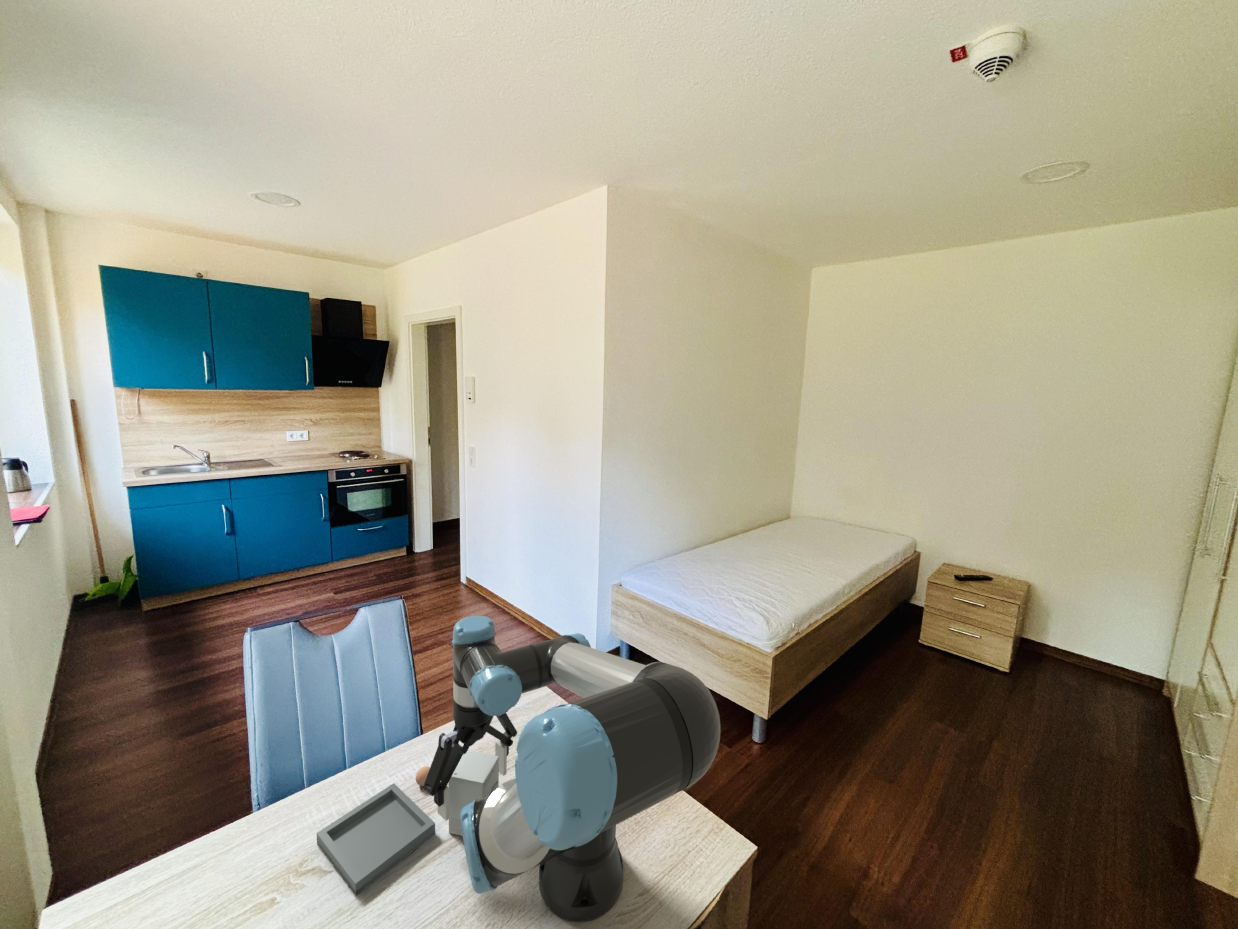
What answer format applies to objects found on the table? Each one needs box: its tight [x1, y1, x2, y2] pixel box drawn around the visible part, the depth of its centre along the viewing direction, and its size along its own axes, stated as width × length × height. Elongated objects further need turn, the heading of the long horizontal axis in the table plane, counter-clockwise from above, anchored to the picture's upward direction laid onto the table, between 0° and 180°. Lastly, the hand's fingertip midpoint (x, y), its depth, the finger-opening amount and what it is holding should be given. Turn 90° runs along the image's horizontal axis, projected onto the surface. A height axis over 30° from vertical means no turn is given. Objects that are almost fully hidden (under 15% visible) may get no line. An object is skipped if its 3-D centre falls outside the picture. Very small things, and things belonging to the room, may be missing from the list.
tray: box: [316, 782, 436, 897], centre depth 93 cm, size 15×15×2 cm
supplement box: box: [448, 749, 500, 837], centre depth 97 cm, size 7×7×13 cm
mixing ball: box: [415, 765, 431, 787], centre depth 106 cm, size 4×4×4 cm
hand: (473, 792), depth 97 cm, fingers open, 13 cm apart
